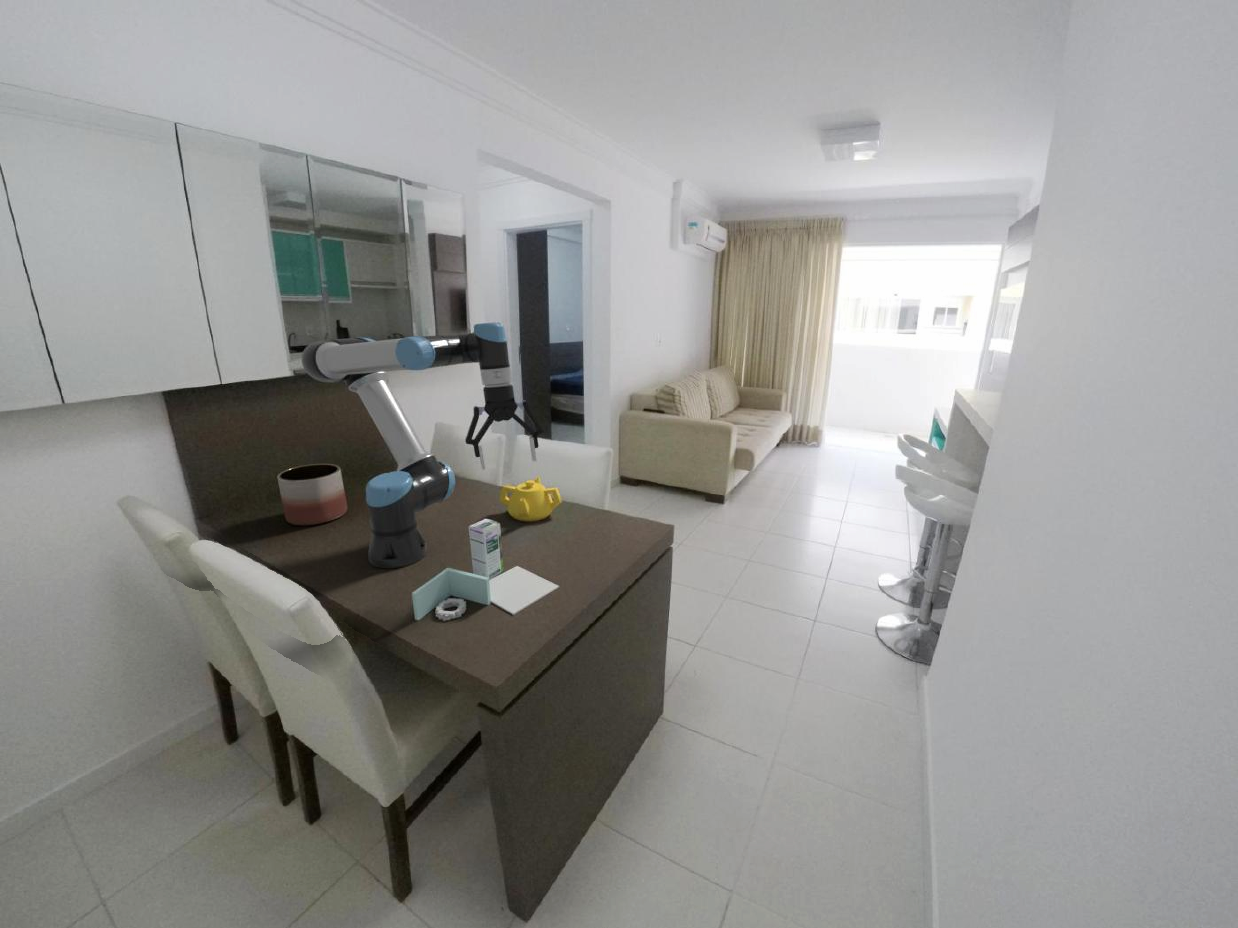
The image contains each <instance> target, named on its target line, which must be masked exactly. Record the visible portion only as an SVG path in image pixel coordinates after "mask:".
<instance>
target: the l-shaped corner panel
mask: <svg viewBox="0 0 1238 928" xmlns="http://www.w3.org/2000/svg"><path fill="white" fill-rule="evenodd" d="M450 596H453V597H454V598H450ZM411 599H412V605H413V613H414V620H416V621H420V620H421V619H422V618H423V617H425V616H426V615H427V614H429V612H432V610H434V609H435V611H434V613H435V615H434V616H435V617H438V620H442V621H443V622H444V621H450V620H453V619H456V618H460V617H462V614H465V612H466V611H467V608H466V607H467V601H465V600H468V601H470V602H471V601H472V602H475V603H478V604H481V605H486V606H489V605H490V604H492V602H491V596H490V583H489V578H488V577H484V576H480V575H476V574H474V573H472V572H467V571H463V570H459V569H455V568H451V567H447V568H444V569H443V570H442V571H441V572H440V573H438V574H437V575H436V576H434V577H432V578H431V579H430V580H428V581H427V582H426V583H423V585H421V586H419V587H418V588H417V589H416V590H414V591H413V592H411ZM451 607H457V609H456V610H452V611H450V610H445V609H448V608H451Z"/></svg>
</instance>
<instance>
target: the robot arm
mask: <svg viewBox="0 0 1238 928" xmlns="http://www.w3.org/2000/svg"><path fill="white" fill-rule="evenodd" d="M509 358H510V357H509V351H508V339H507V335H506V330H505V326H504V324H503V323H501V322H496V321H495V322H484V323H482V322H481V323H475V324H474V325H473V332H470V333H468V332H465V333H449V334H439V335H438V334H437V335H414V336H413V335H411V336H408V337H403V338H393V339H385V340H384V339H383V340H375V339H372V338H368V337H359V336H355V337H351V338H335V339H334V338H333V339H332V338H331V339H320V340H316V341H314V342H311V343H310V344H308V345H307V346H305V348H304V350H303V352H302V355H301V364H302V367H303V369H304V371H305V372H306V374H307V375H308V376H310V377H311V378H313V379H314V380H317V381H319V382H323V383H324V382H325V383H338V382H344V383H345V385H346V387H347V389H348V390H349V391H350V392H354V393H357V395H358V396H359V398H360V399H361V402H362V403H363V405H364V407H365V408H366V411H367V412H368V414H369V415H370V417H371V419H372V421H373V422H374V424H375V426H376V428H377V429H378V431H379V433H380V435H381V436H382V438H383V440H384V442H385V444H386V446H387V447H388V449H389V450H390V452H391V455H392V456H393V458H394V459H395V462H396V463H397V470H395V471H390V472H384V473H381V474H379V475H376V476H375V477H373V478H372V479H370V480H369V481H368V482H367V484H366V486H365V496H366V497H365V502H366V505H367V509H368V516H369V523H370V530H371V538H370V542H369V547H368V551H367V557H368V561H369V564H370V565H371V566H373V567H376V568H380V569H394V568H397V569H398V568H402V567H406V566H409V565H412V564H414V563H416V562H418V561H420V560H421V559H423V557H425V556H426V554H427V552H428V547H427V543H426V540H425V538H424V536H423V534H422V532H421V530H420V528H419V526H418V520H417V514H418V513H419V512H422V511H424V510H426V509H428V508H430V507H432V506H434V505H437V504H440V503H442V502H443V501H444V500H445V499H448V498H449V497H450V496H452V495H453V492H454V490H455V486H456V478H455V473H454V471H453V469H452V468H451V466H450V465H449V464H448V463H445V462H444V461H441V460H439V461H438V460H437V458H436V457H435V455H434V454H433V453H430V452H427V451H426V449H425V447H424V446H423V444H422V442H421V440H420V439H419V437H418V435H417V433H416V431H415V430H414V427H413V426H412V424H411V422H410V421H409V419H408V417H407V415H406V414H405V412H404V410H403V408H402V406H401V405H400V403H399V401H398V399H397V398H396V396H395V394H394V392H393V390H392V389H391V387H390V385H389V383H388V378H389V376H390V374H389V372H395V371H398V372H399V371H423V370H427V369H432V368H439V367H449V366H454V365H463V364H477V363H478V366H479V371H480V377H481V384H482V386H484V387H483V398H484V403H485V404H484V406H477V405H475V406H473V409H472V410H473V415H472V420H471V422H470V426H469V427H468V431H467V434H466V437H465V440H464V441H465V443H466V444H467V445H471V446H473V451H474V456H475V457H476V458H479V459H480V467H481V469H482V470H486V466H485V465H486V464H485V459H484V454H483V446H482V443H480V442H481V440H482V439H483V437H484V436H485V434H486V433H487V431H488V430H489V428H490V426H492V424H493V423H494V422H496V423H497V422H498V423H499V422H502V421H510V420H511V419H512V418H513V420H514V421H515V422H516V423H518V424H519V425H520V426H521V427H522V428H524V430H526V431H527V432H528V433H529V434H530V435H529V436H528V438H529V446H530V455H531V460H532V462H537V455H536V449H539V441H538V439H539V438H538V437H539V435H541V434H543V433H544V429H543V427H542V426H541V425H540V423H539V422H538V420H537V418H536V417H535V415H534V414H533V413H532V411H531V410H530V407H529V403H528V401H526V400H521V401H519V402H516V399H515V392H514V391H515V390H514V386H513V385H512V384H511V383H512V382H513V378H512V372H511V364H510V359H509ZM518 408H519V409H521V410H523V411H524V413H525V414H526V416H527V417H528V420H530V422H531V424H532V425H533V426H534V428H535V430H534V429H533V428H532V427H531V426H529V425H528V424H527V423H526V422H525V421H523V419H521V418H520V417H519V416H518V415H517V414H516V413H515V412H516V411H517V409H518ZM483 412H485V413H486V414H487V415H488V416H487V418H486V420H485V421H484V423H483V425H482V426H481V428H480V429H479V431H478V433H477V434H476V436H475V437H474V433H475V432H476V431H475V430H476V427H477V425H478V421H479V419H480V416H481V415H483ZM473 437H474V438H473Z"/></svg>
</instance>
